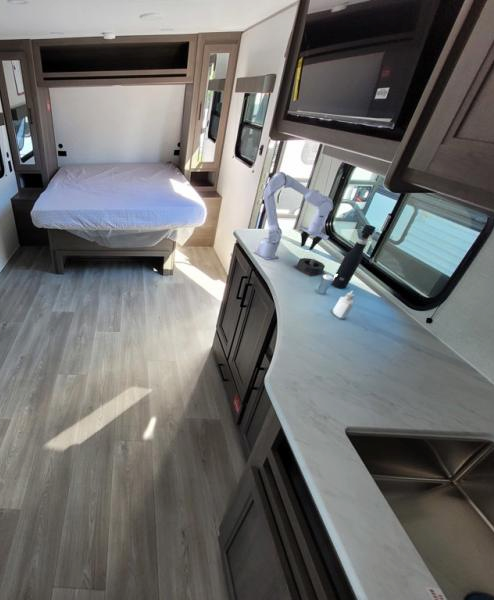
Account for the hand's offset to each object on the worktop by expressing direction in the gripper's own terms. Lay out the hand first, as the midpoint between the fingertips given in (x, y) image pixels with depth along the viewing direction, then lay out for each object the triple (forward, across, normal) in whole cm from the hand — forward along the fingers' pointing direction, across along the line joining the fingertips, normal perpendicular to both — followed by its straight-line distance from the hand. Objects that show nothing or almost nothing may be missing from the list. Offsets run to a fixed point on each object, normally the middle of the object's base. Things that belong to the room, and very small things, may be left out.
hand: (306, 247), depth 162 cm
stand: (+9, +7, -3) cm, 12 cm away
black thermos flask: (+10, +23, -5) cm, 25 cm away
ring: (+8, +7, -3) cm, 11 cm away
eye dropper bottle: (+10, +36, -30) cm, 48 cm away
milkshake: (+10, +22, -19) cm, 31 cm away
